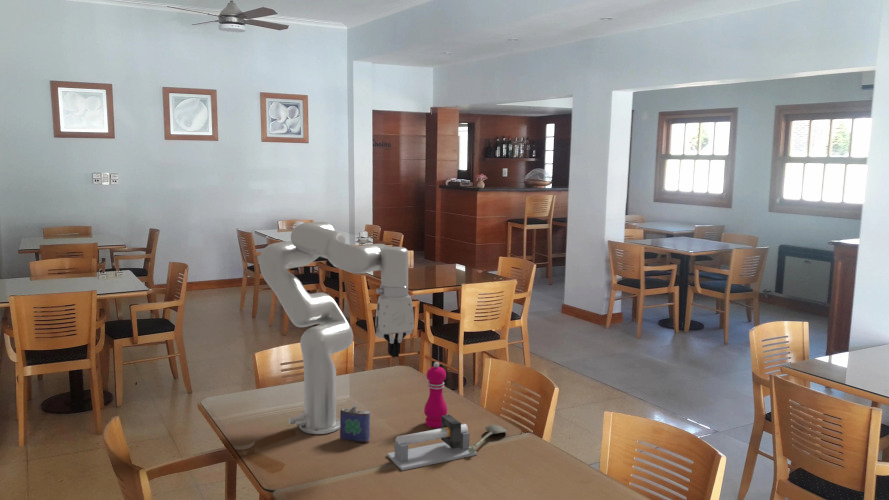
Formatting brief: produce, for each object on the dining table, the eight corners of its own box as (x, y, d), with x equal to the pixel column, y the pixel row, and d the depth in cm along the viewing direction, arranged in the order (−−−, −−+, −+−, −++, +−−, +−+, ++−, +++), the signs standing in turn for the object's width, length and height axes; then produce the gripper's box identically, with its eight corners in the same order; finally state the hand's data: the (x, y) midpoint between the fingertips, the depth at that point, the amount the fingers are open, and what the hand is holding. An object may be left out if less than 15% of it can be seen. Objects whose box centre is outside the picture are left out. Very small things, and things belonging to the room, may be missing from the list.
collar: (452, 448, 187) (453, 424, 186) (441, 439, 193) (441, 415, 192) (460, 447, 188) (461, 423, 187) (448, 437, 194) (449, 414, 193)
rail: (401, 470, 178) (402, 444, 177) (387, 455, 187) (387, 430, 186) (477, 454, 189) (477, 429, 188) (459, 441, 198) (460, 417, 197)
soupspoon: (510, 434, 205) (490, 431, 208) (510, 423, 205) (491, 420, 208) (481, 455, 186) (459, 451, 189) (481, 443, 185) (459, 439, 188)
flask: (371, 440, 197) (371, 405, 196) (367, 444, 195) (367, 408, 193) (342, 436, 200) (341, 401, 199) (338, 440, 197) (337, 405, 196)
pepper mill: (444, 429, 206) (445, 366, 204) (421, 427, 208) (422, 364, 205) (449, 421, 213) (450, 359, 211) (426, 418, 215) (427, 358, 212)
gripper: (374, 296, 180) (373, 362, 182) (424, 292, 187) (423, 356, 189) (364, 291, 186) (364, 355, 189) (413, 287, 193) (412, 349, 195)
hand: (394, 355), depth 189 cm, fingers closed
